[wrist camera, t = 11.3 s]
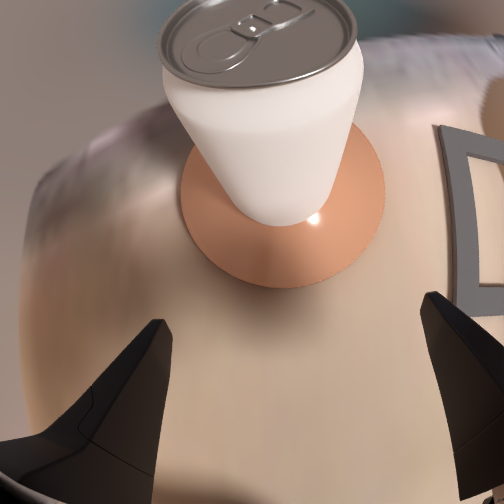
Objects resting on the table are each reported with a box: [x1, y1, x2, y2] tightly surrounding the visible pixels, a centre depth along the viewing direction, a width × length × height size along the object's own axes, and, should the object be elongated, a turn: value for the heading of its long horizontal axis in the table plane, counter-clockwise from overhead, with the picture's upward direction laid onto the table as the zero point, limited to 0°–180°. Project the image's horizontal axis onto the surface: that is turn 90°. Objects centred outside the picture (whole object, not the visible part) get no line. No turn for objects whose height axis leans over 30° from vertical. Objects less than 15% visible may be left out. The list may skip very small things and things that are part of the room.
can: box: [157, 0, 364, 226], centre depth 12 cm, size 6×6×12 cm
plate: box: [180, 123, 385, 288], centre depth 18 cm, size 13×13×1 cm
